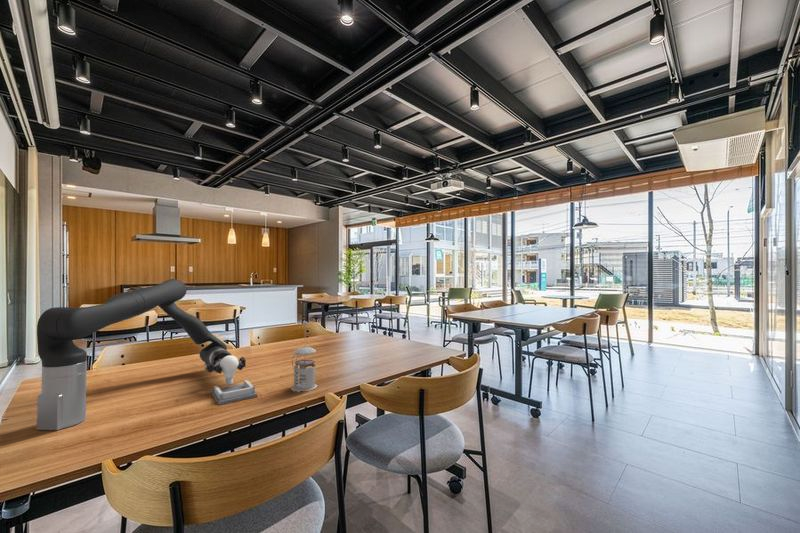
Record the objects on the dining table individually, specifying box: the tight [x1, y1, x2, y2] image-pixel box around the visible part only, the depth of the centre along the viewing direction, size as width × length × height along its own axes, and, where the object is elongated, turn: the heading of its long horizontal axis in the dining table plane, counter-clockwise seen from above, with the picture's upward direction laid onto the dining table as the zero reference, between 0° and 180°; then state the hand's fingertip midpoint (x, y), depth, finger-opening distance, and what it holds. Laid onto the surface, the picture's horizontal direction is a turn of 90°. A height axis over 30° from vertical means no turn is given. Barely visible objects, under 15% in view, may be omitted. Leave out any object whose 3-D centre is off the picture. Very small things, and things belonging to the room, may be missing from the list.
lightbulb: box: [220, 354, 239, 386], centre depth 126 cm, size 6×6×11 cm
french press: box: [290, 320, 318, 393], centre depth 129 cm, size 10×12×25 cm
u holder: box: [210, 379, 258, 406], centre depth 121 cm, size 14×12×3 cm
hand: (230, 368), depth 125 cm, fingers closed on lightbulb, 6 cm apart
